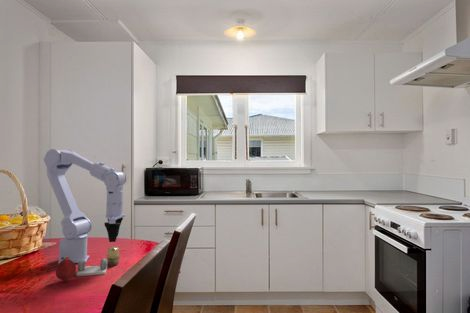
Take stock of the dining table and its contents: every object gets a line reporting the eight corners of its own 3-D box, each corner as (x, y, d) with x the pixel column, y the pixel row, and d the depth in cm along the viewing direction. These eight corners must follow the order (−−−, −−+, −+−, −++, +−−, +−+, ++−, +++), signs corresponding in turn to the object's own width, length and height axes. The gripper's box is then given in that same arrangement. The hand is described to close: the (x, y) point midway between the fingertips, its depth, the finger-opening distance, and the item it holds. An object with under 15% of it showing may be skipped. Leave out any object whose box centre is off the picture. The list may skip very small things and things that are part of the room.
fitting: (76, 276, 107) (76, 263, 107) (80, 269, 114) (81, 256, 114) (104, 274, 109) (105, 261, 109) (107, 267, 116) (107, 255, 116)
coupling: (105, 266, 117) (106, 250, 117) (107, 262, 121) (107, 246, 121) (118, 265, 118) (119, 249, 118) (119, 261, 122) (120, 246, 123)
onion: (61, 286, 98) (62, 260, 98) (51, 282, 101) (52, 257, 101) (79, 280, 103) (79, 256, 103) (69, 276, 106) (69, 252, 106)
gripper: (124, 205, 114) (123, 243, 114) (127, 200, 128) (126, 234, 128) (103, 206, 112) (102, 244, 112) (108, 200, 126) (107, 234, 126)
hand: (113, 239), depth 120 cm, fingers open, 7 cm apart
